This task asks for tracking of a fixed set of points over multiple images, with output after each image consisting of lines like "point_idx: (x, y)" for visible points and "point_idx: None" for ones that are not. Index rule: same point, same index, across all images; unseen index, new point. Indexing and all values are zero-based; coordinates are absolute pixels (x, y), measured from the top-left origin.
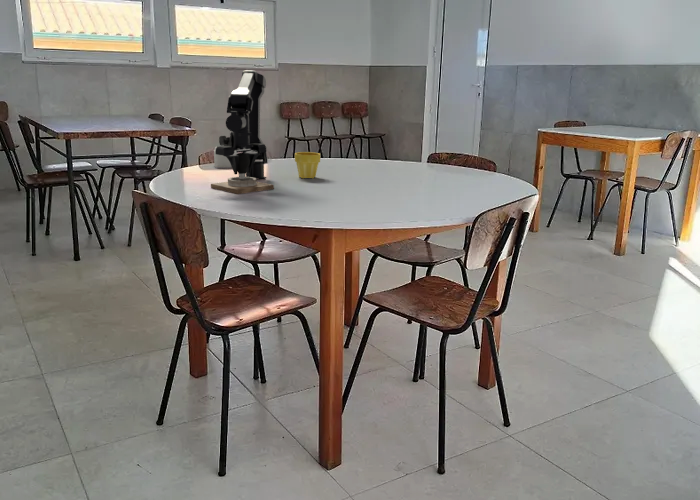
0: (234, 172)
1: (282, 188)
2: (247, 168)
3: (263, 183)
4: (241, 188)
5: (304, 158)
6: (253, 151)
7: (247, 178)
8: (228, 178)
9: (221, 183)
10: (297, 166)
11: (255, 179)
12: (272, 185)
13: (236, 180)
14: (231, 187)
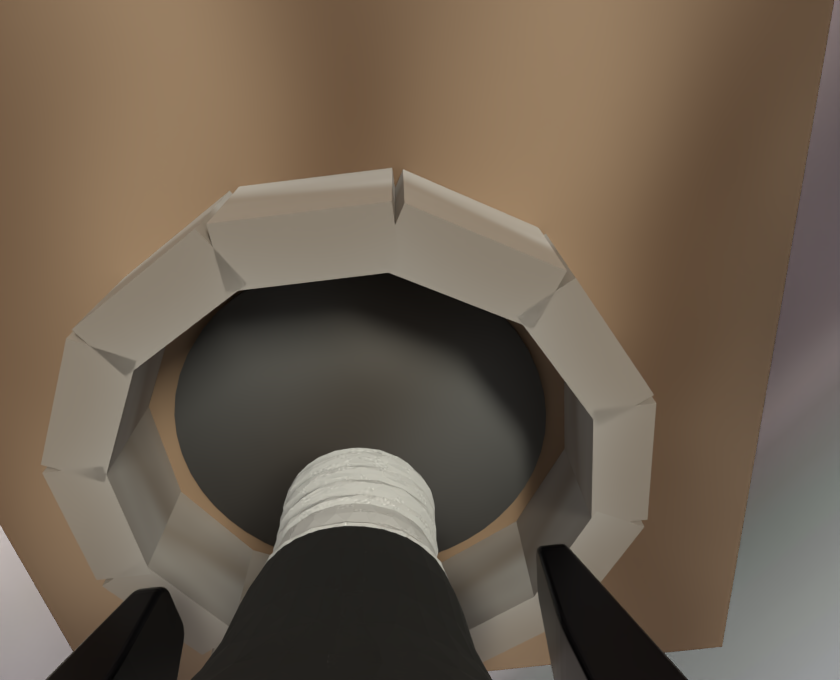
0: (114, 638)
1: (809, 608)
2: (563, 660)
3: (705, 512)
4: (189, 668)
5: None
6: None
7: (567, 376)
8: (92, 326)
9: (4, 136)
10: None
11: (530, 637)
12: (697, 642)
13: (169, 589)
14: (75, 569)
